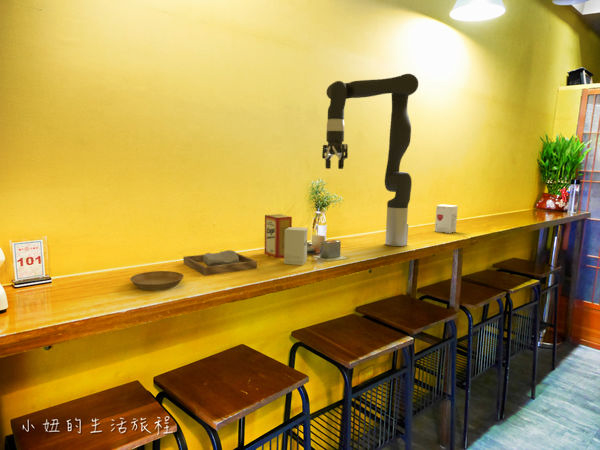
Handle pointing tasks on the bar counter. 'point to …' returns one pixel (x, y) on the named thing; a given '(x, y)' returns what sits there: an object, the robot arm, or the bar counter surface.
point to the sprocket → (315, 244)
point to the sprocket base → (313, 253)
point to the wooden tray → (243, 265)
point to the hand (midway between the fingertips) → (334, 168)
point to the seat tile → (331, 258)
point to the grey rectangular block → (330, 249)
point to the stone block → (221, 258)
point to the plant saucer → (156, 280)
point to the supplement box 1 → (295, 246)
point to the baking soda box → (276, 234)
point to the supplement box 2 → (446, 218)
